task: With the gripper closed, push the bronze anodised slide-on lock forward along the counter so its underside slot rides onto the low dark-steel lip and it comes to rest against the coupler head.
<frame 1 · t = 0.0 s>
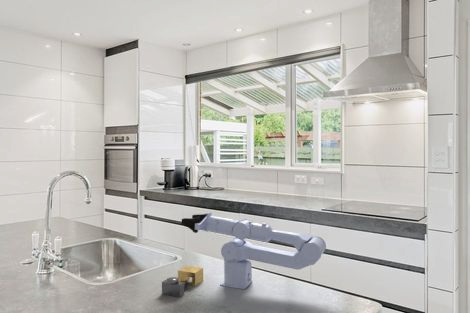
hand: (187, 219, 138), 22 cm above the countertop, tool horizontal, fingers open, 7 cm apart
coupler lock: (190, 282, 132), on the countertop
coupler: (179, 289, 125), on the countertop
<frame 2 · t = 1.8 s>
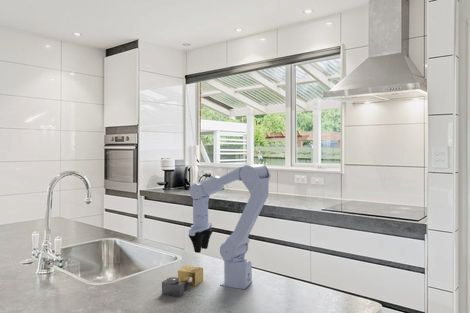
hand: (201, 250, 139), 9 cm above the countertop, tool pointing down, fingers open, 5 cm apart
nothing on the countertop moved.
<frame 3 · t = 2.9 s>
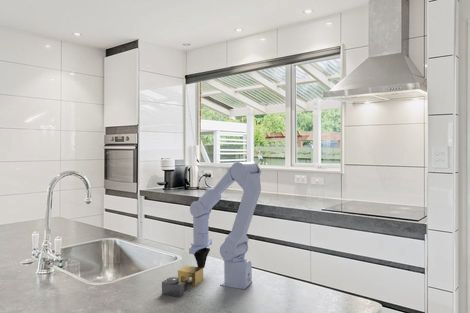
hand: (201, 267, 139), 3 cm above the countertop, tool pointing down, fingers closed
nothing on the countertop moved.
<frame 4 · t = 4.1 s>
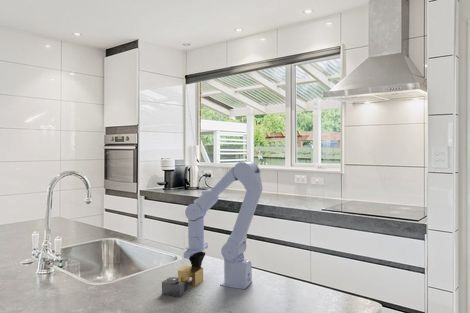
hand: (196, 272, 136), 2 cm above the countertop, tool pointing down, fingers closed
coupler lock: (190, 282, 132), on the countertop, touching gripper
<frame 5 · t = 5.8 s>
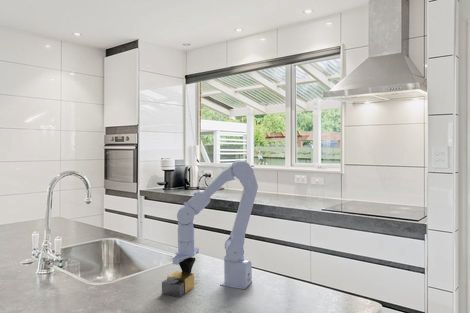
hand: (186, 278, 129), 2 cm above the countertop, tool pointing down, fingers closed
coupler lock: (180, 288, 126), resting in coupler, touching gripper
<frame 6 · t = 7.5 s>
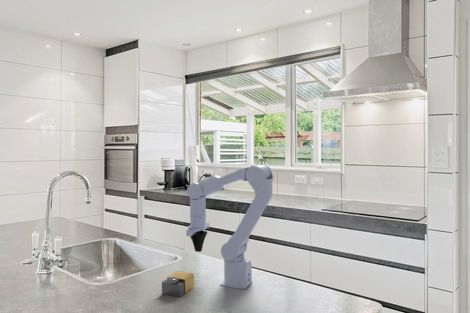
hand: (198, 251, 137), 10 cm above the countertop, tool pointing down, fingers closed
coupler lock: (180, 289, 126), resting in coupler
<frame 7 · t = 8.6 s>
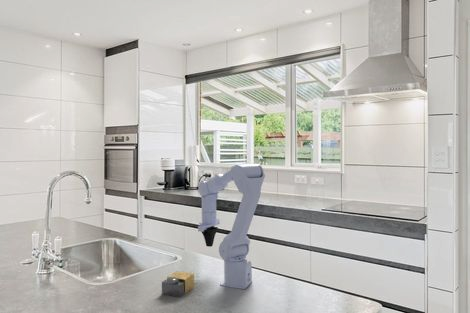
hand: (209, 246, 143), 10 cm above the countertop, tool pointing down, fingers closed
nothing on the countertop moved.
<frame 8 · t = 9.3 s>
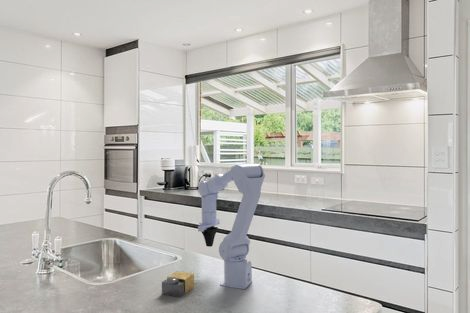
hand: (209, 246, 143), 10 cm above the countertop, tool pointing down, fingers closed
nothing on the countertop moved.
at the end: coupler lock 0.1 cm off-centre on the coupler, point 0.0 cm above the coupler's base; coupler lock tilted 0° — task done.
